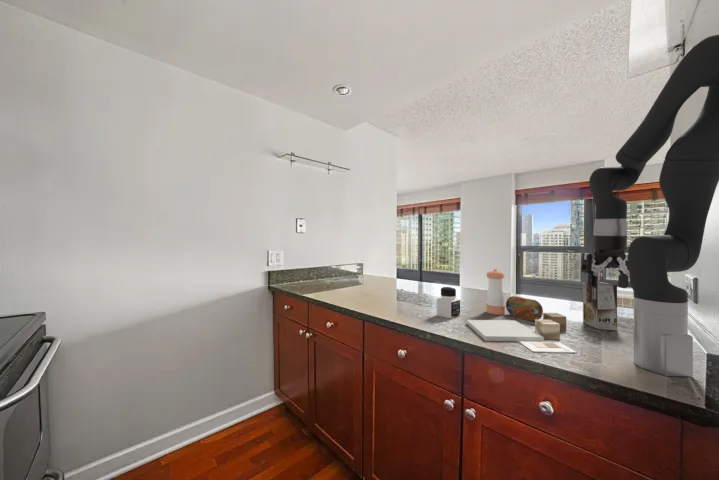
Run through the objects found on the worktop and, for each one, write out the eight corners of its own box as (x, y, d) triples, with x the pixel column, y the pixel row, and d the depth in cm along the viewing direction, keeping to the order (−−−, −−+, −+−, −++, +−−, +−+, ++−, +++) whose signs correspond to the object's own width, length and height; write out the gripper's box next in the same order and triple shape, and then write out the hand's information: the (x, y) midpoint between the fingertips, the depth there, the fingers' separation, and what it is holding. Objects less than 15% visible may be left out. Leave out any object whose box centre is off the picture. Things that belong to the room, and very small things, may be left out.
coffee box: (618, 330, 98) (618, 284, 98) (597, 329, 99) (597, 284, 99) (601, 323, 107) (601, 281, 107) (582, 322, 108) (582, 280, 108)
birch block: (559, 339, 90) (559, 324, 90) (543, 339, 90) (543, 324, 90) (550, 334, 95) (550, 319, 95) (535, 334, 95) (534, 319, 95)
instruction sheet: (576, 353, 79) (576, 351, 79) (533, 352, 79) (533, 350, 79) (555, 341, 88) (555, 340, 88) (516, 340, 88) (516, 339, 88)
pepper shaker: (493, 315, 118) (493, 270, 118) (482, 310, 125) (482, 268, 125) (508, 314, 120) (508, 269, 120) (496, 310, 127) (496, 268, 127)
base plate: (543, 341, 88) (543, 337, 88) (485, 340, 88) (485, 336, 88) (514, 324, 106) (514, 320, 106) (466, 323, 106) (466, 319, 106)
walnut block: (566, 330, 98) (566, 316, 98) (551, 330, 99) (551, 316, 99) (557, 326, 103) (557, 312, 103) (543, 326, 104) (543, 312, 103)
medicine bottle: (451, 319, 113) (451, 289, 113) (436, 315, 118) (436, 287, 118) (460, 316, 117) (460, 287, 117) (445, 312, 123) (445, 285, 123)
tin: (505, 313, 121) (505, 294, 121) (510, 313, 122) (510, 294, 122) (538, 323, 106) (538, 301, 106) (544, 322, 108) (544, 301, 108)
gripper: (595, 234, 80) (593, 290, 81) (647, 234, 79) (644, 290, 80) (576, 234, 88) (574, 284, 88) (623, 233, 87) (621, 285, 88)
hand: (607, 287), depth 84 cm, fingers open, 8 cm apart
